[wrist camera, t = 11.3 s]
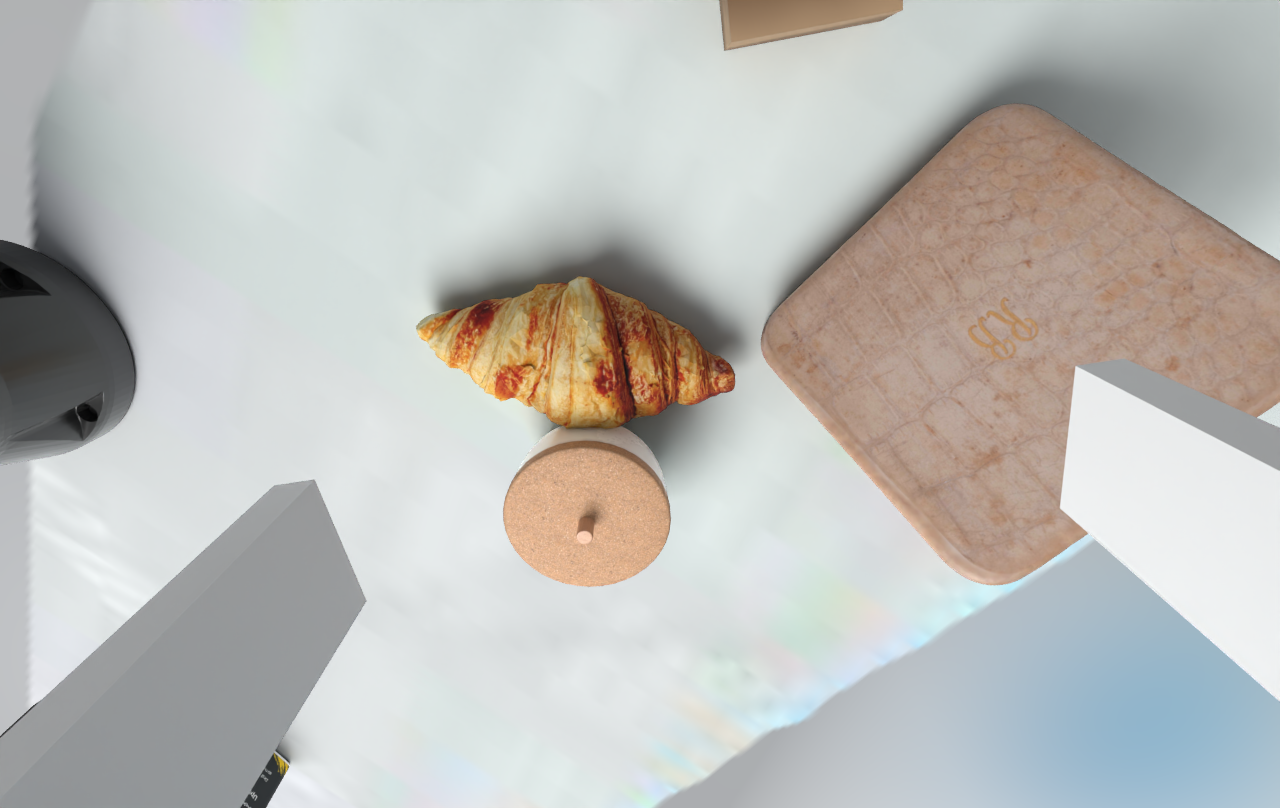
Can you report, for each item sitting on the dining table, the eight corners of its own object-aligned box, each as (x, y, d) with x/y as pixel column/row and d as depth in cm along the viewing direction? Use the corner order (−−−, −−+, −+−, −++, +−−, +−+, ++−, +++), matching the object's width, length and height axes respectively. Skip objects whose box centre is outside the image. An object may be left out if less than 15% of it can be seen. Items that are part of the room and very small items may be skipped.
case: (989, 86, 37) (1213, 49, 22) (1167, 322, 42) (1444, 420, 27) (737, 326, 43) (781, 424, 28) (921, 506, 48) (1040, 667, 33)
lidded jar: (543, 378, 44) (519, 439, 35) (686, 420, 45) (696, 489, 36) (509, 500, 48) (480, 581, 39) (641, 535, 49) (640, 621, 41)
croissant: (442, 344, 46) (409, 431, 42) (418, 235, 38) (373, 326, 34) (720, 382, 47) (719, 472, 42) (753, 283, 39) (757, 378, 34)
